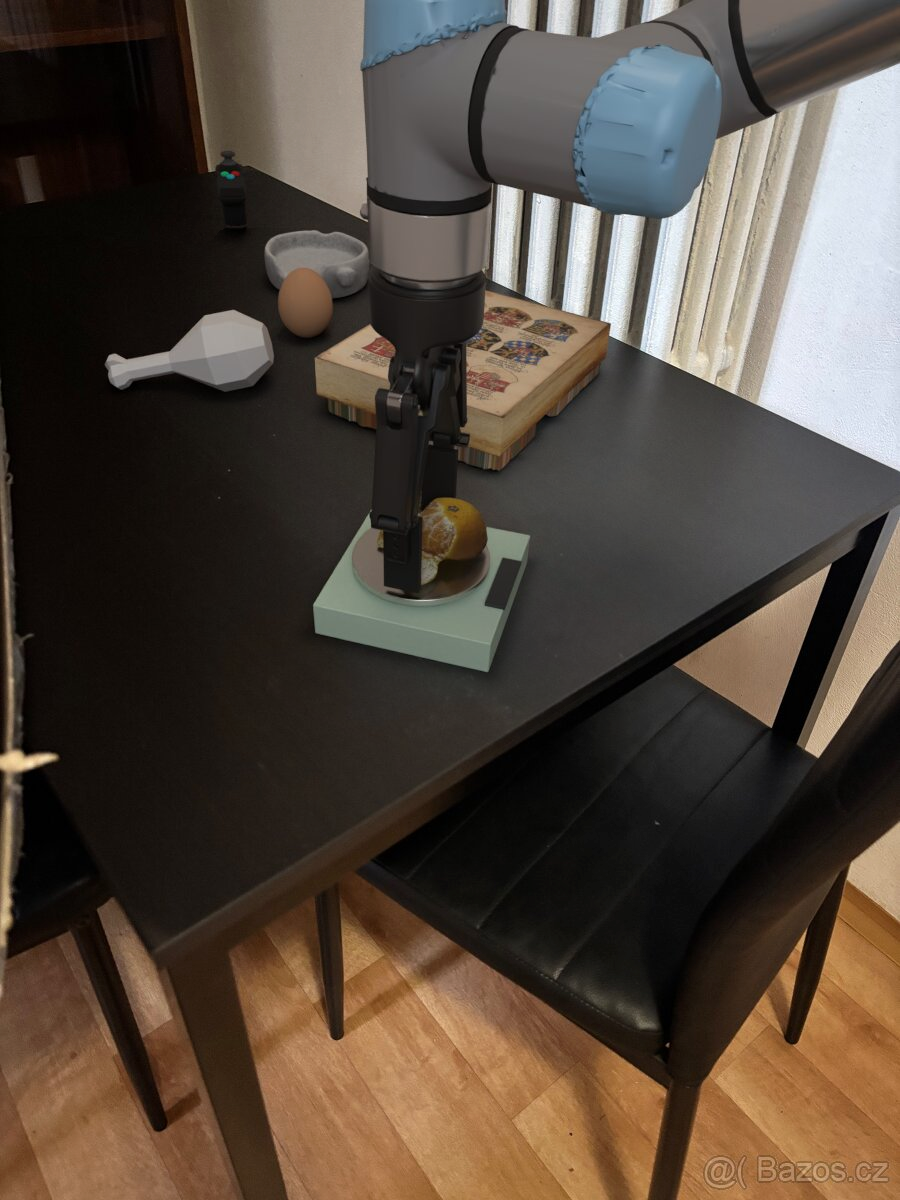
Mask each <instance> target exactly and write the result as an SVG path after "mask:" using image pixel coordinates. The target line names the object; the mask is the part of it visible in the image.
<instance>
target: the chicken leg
mask: <svg viewBox="0 0 900 1200" xmlns="http://www.w3.org/2000/svg"><path fill="white" fill-rule="evenodd" d="M274 358H275V354H274V348H273V343H272V340H271V336H270V333H269V329H268V327H267V326H266V325H265V323H263V322H261V321H260V320H257V319H255V318H252V317H250V316H248V315H246V314H244V313H241V312H239V311H237V310H235V309H230V310H225V311H220V312H216V313H211V314H206V315H203V316H202V318H200V320H198V322H197V323H195V325H194V326H192V327H191V329H190V330H189V331H188V332H187V333H186V334H185V335H184V336H183V337H182V338H181V339H180V340H179V341H178V342H177V343H176V344H175V345H174V346H173V347H172V348H171V350H170V351H164V352H158V353H154V354H149V355H144V356H138V357H133V358H128V359H126V358H124V357H122V356H120V355H119V354H117V353H112V354H109V355H108V357H107V358H106V361H105V363H104V366H105V368H106V369H107V371H108V373H107V377H108V379H109V382H110V384H111V385H112V386H114V387H116V388H117V389H119V390H122V391H123V390H125V389H127V388H129V387H130V386H131V384H132V383H133V382H135V381H140V380H146V379H150V378H151V379H152V378H156V377H161V376H166V375H171V374H177V375H181V376H183V377H186V378H188V379H191V380H193V381H196V382H199V383H201V384H203V385H206V386H208V387H212V388H214V389H216V390H218V391H222V392H225V393H226V392H232V391H237V390H241V389H245V388H246V389H247V388H250V387H254V386H255V384H257V382H258V381H259V380H260V379H261V378H262V377H263V376H264V375H265V373H266V372H267V371H268V370H269V369H270V368H271V366H272V365H274Z"/></svg>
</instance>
